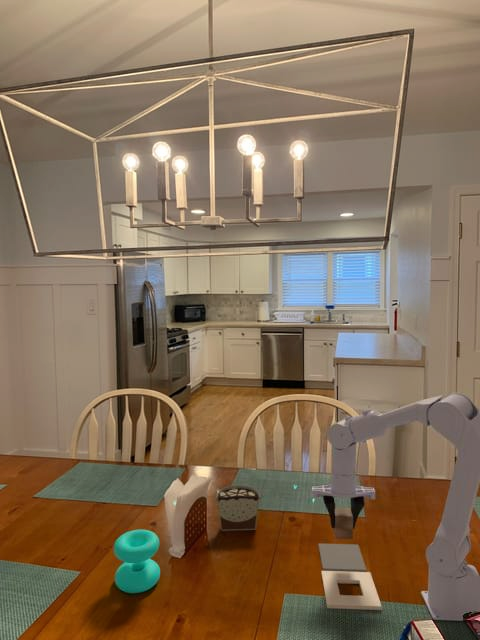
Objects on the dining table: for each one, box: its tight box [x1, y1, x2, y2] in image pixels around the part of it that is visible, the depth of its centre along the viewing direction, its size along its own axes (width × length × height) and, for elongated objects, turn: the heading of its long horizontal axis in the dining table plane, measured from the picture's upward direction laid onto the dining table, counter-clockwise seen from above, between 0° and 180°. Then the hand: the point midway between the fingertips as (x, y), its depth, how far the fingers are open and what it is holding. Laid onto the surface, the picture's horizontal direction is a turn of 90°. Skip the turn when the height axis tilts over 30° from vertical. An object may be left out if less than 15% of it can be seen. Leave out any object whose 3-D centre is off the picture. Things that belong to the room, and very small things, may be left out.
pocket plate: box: [321, 570, 383, 611], centre depth 101 cm, size 11×11×1 cm
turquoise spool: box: [113, 529, 161, 594], centre depth 105 cm, size 10×10×10 cm
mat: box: [317, 543, 367, 572], centre depth 113 cm, size 10×10×1 cm
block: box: [332, 507, 354, 540], centre depth 110 cm, size 4×4×6 cm
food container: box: [215, 484, 262, 532], centre depth 128 cm, size 12×6×10 cm, turn 92°
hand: (342, 526), depth 111 cm, fingers closed on block, 4 cm apart
